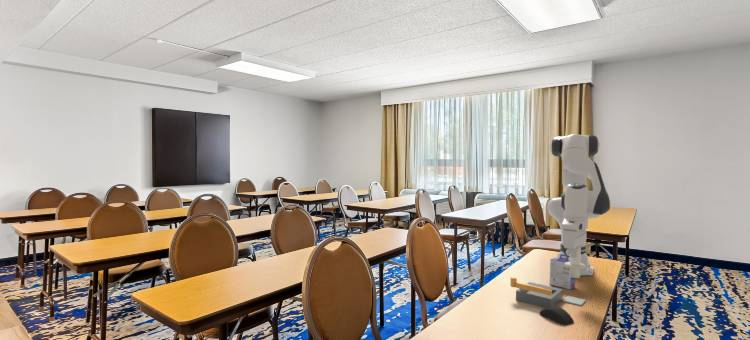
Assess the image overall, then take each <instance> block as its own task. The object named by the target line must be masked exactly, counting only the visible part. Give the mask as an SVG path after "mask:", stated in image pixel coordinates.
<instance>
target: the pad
mask: <svg viewBox="0 0 750 340" xmlns="http://www.w3.org/2000/svg"><path fill="white" fill-rule="evenodd" d="M562 302H563V303H567V304H569V305H570V304H571V305H575V306H578V307H582V306H583V305H584V303H586V299H585V298H579V297H575V296H571V295H567V296H565V297H564V298H563V299H562Z"/></svg>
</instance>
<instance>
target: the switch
mask: <svg viewBox="0 0 750 340" xmlns="http://www.w3.org/2000/svg"><path fill="white" fill-rule="evenodd" d="M526 284H529V285H532V286H536V287H541V288H545V289H549V290H552V295H551V296H550V295H546V294H542V293H537V292H533V291H529V290H524V289H520V288H517V289H516V290H515V300H516V301H517V302H523V303H525V304H529V305H534V306H538V307H542V308H547V307H548V306H549V307H551V306H557V304H559V302H560V301H563V299H564V298H563V297H564V296H563V295H564V294H563V293H564V291H563V290H564V288H560V287H559V288H558V287H555V286H551V285H544V284H540V283H536V282H531V281H528V282H527V283H526Z"/></svg>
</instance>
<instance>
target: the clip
mask: <svg viewBox="0 0 750 340" xmlns="http://www.w3.org/2000/svg"><path fill="white" fill-rule="evenodd" d="M510 287H512V288H516V289H519V288H520V289H524V290H529V291H533V292H537V293H542V294H546V295H550V296H551V295H552V290H549V289H545V288H541V287H536V286H532V285H529V284H527V283H524V282H520V281H518V279H517V277H514V276H513V277H512V276H511V277H510Z"/></svg>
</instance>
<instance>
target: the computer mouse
mask: <svg viewBox="0 0 750 340" xmlns="http://www.w3.org/2000/svg"><path fill="white" fill-rule="evenodd" d="M539 315H540V316H541V317H544V318H545V319H548V320H550V321H552V322H555V323H557V324H558V325H562V326H568V325H572V324H574V323H575V321H574V319H573V317H572V316H571V314H570V313H569V312H567V310H565V309H564V308H562V307H561V306H557V305H555V306H551V307H549V306H548V307H547V308H545V307H543V308H542V309H540V311H539Z"/></svg>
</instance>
